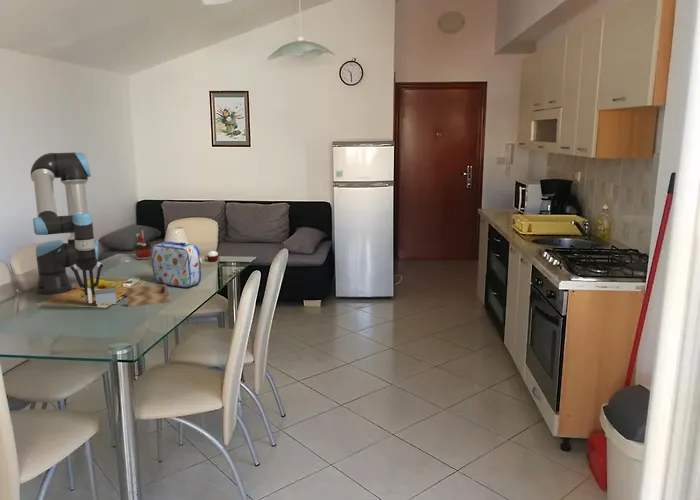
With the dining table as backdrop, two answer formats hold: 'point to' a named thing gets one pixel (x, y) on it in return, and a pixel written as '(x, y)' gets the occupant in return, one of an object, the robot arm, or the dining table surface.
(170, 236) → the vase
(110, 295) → the gray block
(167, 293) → the bay
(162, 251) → the lunch box
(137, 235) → the cake
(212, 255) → the cocoa
